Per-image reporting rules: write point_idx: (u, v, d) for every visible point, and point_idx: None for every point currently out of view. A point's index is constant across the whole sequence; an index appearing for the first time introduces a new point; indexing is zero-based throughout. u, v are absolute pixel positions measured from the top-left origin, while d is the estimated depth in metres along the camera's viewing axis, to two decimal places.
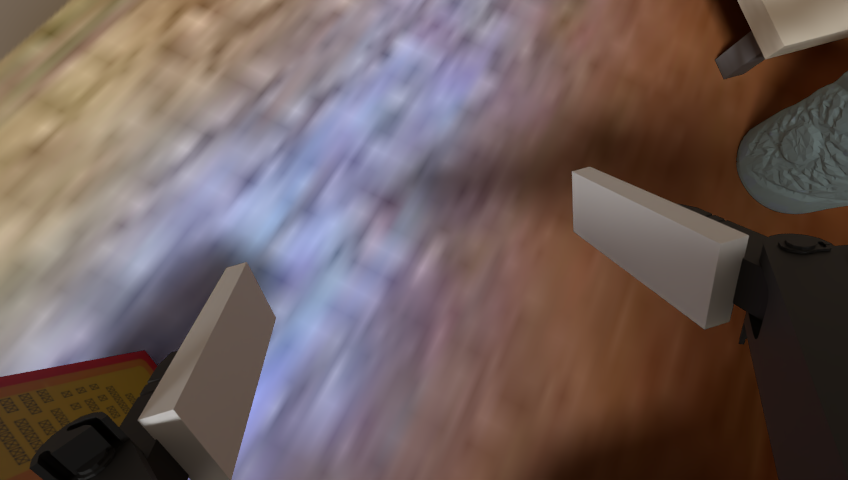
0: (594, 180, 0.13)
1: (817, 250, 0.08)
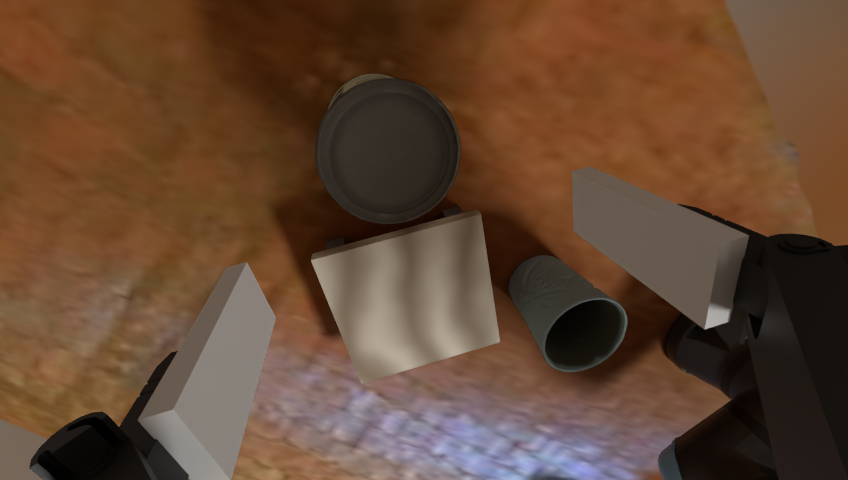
0: (594, 180, 0.13)
1: (817, 250, 0.08)
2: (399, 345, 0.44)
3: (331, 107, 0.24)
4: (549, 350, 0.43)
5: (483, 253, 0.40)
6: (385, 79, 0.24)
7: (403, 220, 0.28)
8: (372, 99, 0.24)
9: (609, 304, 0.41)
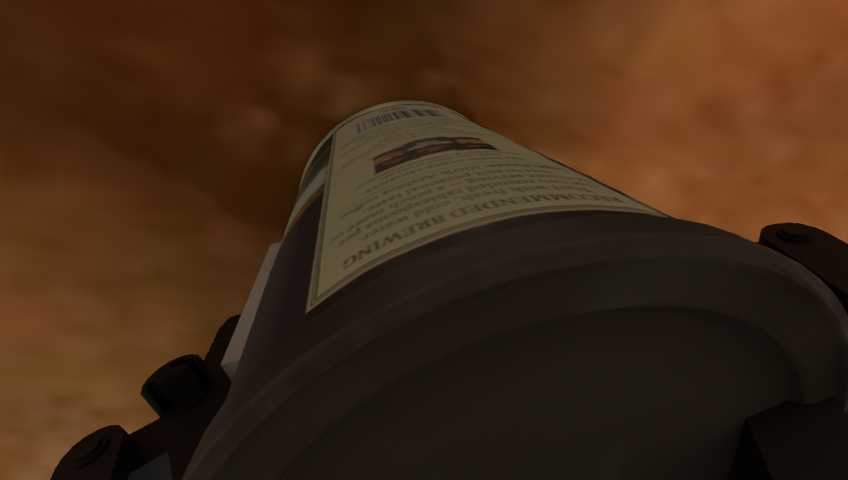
0: None
1: None
2: None
3: (230, 434, 0.04)
4: None
5: None
6: (606, 245, 0.03)
7: None
8: (500, 352, 0.04)
9: None
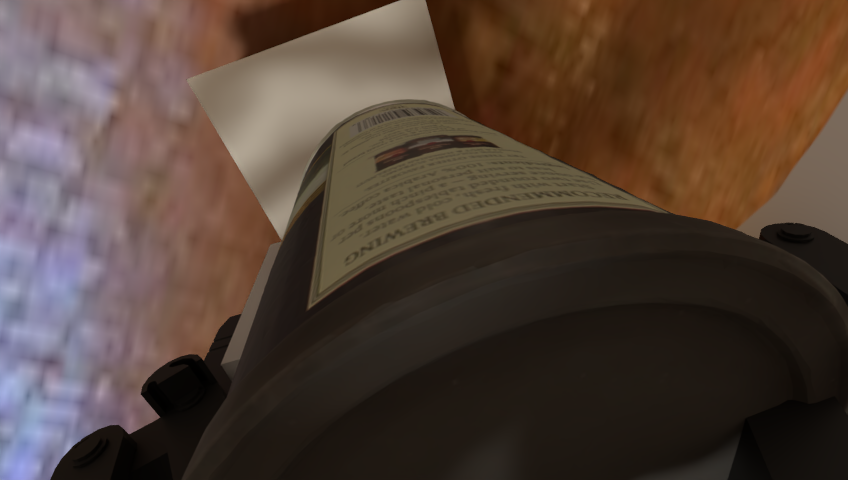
0: None
1: None
2: (280, 138, 0.29)
3: (232, 431, 0.03)
4: None
5: None
6: (610, 241, 0.03)
7: None
8: (503, 349, 0.04)
9: None
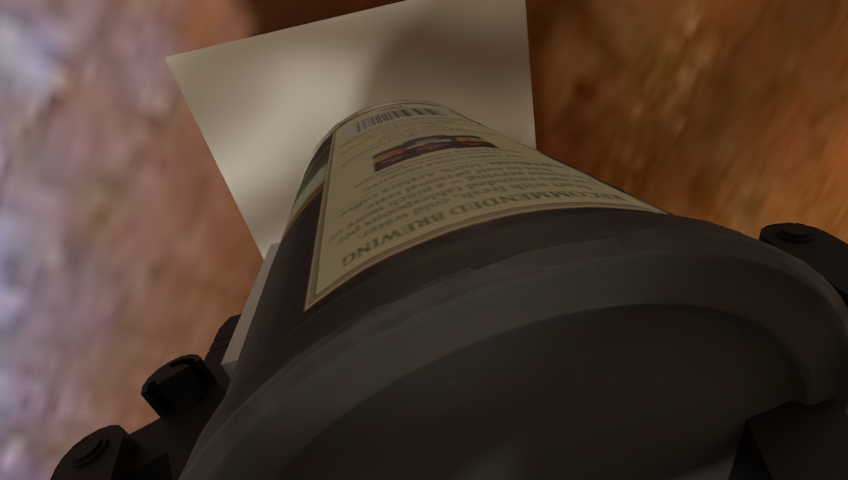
0: None
1: None
2: (295, 156, 0.20)
3: (227, 433, 0.03)
4: None
5: None
6: (607, 242, 0.03)
7: None
8: (500, 350, 0.04)
9: None
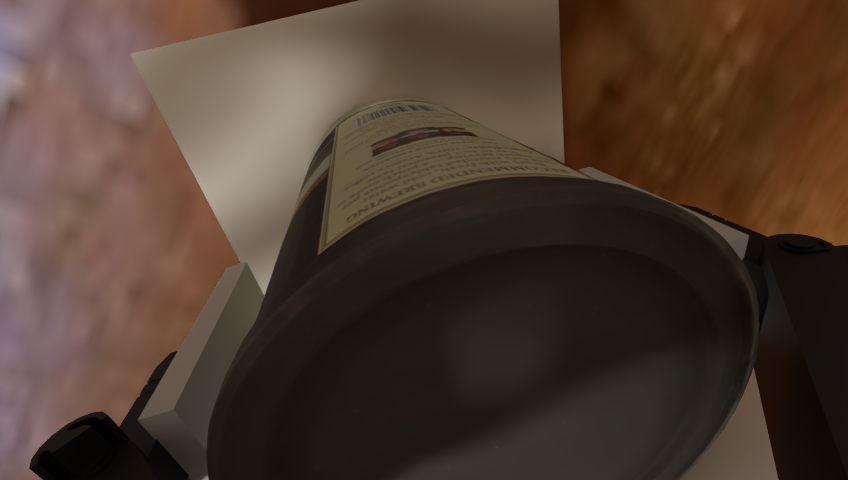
0: None
1: (817, 250, 0.08)
2: (288, 169, 0.18)
3: (264, 333, 0.05)
4: None
5: None
6: (538, 194, 0.05)
7: None
8: (464, 279, 0.05)
9: None
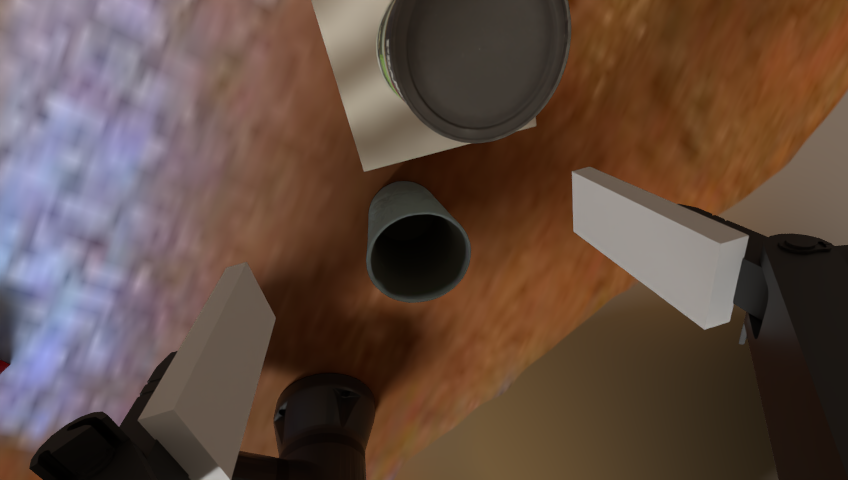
0: (593, 180, 0.13)
1: (817, 250, 0.08)
2: (369, 23, 0.31)
3: None
4: None
5: None
6: None
7: (491, 138, 0.23)
8: None
9: (444, 277, 0.39)
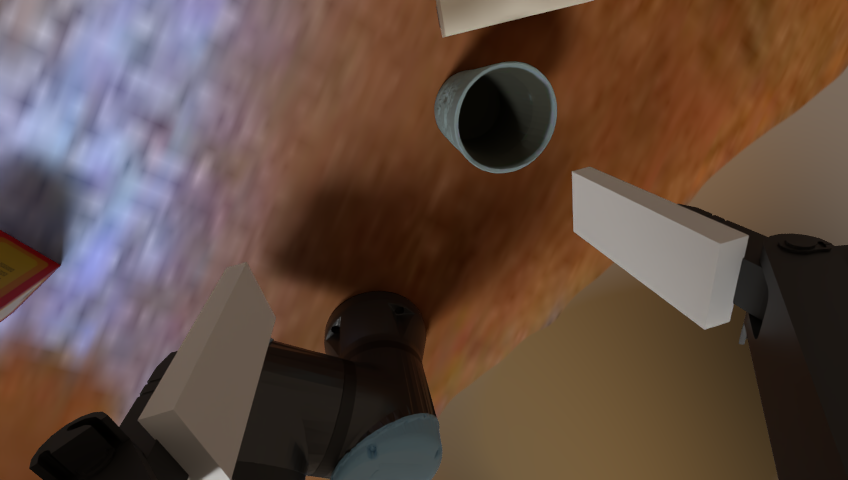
0: (594, 180, 0.13)
1: (817, 250, 0.08)
2: None
3: None
4: None
5: (573, 0, 0.36)
6: None
7: None
8: None
9: (524, 151, 0.38)
